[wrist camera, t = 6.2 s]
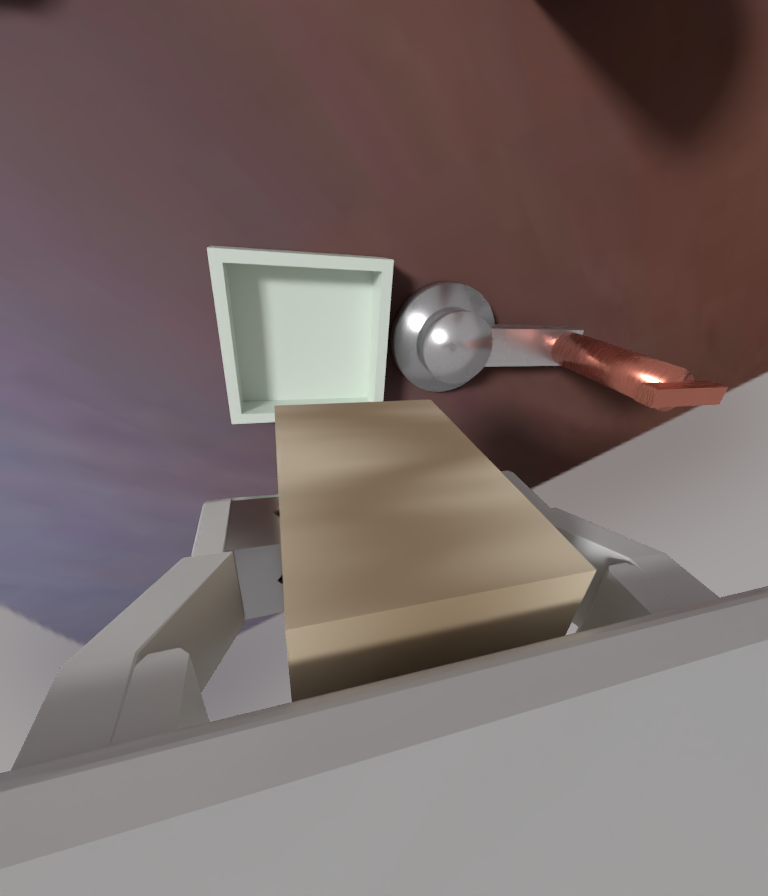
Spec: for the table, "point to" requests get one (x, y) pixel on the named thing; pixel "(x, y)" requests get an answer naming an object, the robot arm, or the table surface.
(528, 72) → the table surface
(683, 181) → the table surface
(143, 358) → the table surface
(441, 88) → the table surface
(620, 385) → the crank
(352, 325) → the tray
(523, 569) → the block
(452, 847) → the robot arm
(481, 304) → the crank plinth
